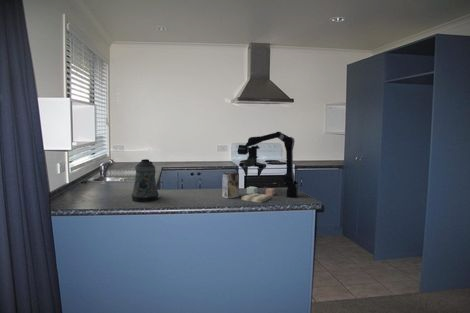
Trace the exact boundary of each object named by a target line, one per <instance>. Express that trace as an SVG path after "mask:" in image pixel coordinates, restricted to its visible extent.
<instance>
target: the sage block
mask: <svg viewBox="0 0 470 313" xmlns="http://www.w3.org/2000/svg"><path fill="white" fill-rule="evenodd" d="M250 193H257V194H258V187H256V186H248V187H246V194H250Z"/></svg>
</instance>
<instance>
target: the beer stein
mask: <svg viewBox="0 0 470 313" xmlns="http://www.w3.org/2000/svg"><path fill="white" fill-rule="evenodd" d="M134 169H135V177H134V184H133V188H132V191H131V199H132V201H133V202H137V203H149V202H155V201H157V200H158V199H159V198H158V197H159V191H158V188H157V183H156V166H155V165H154V164H153V162H152V161H150V159H147V158H146V159H143V158H142V159H141V161H140V162H138V163H137V164H136V165H135V166H134Z"/></svg>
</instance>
